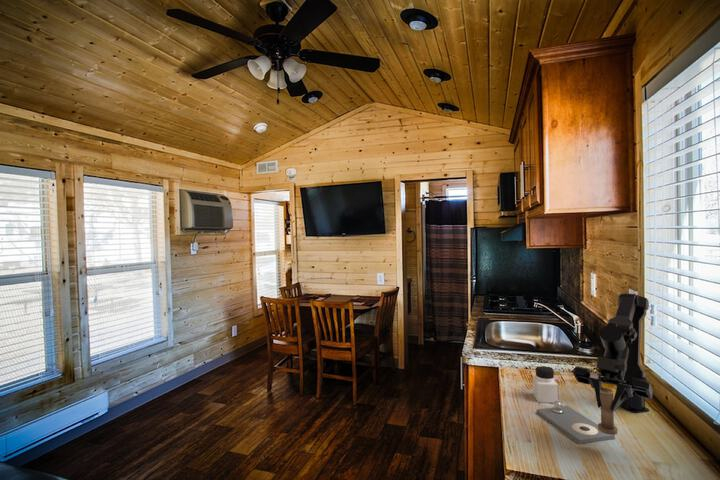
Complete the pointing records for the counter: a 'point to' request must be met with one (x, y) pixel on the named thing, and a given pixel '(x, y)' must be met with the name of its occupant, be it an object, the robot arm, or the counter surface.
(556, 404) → the steel pin
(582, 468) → the counter surface
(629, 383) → the robot arm
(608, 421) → the walnut peg
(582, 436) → the board
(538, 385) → the medicine bottle
